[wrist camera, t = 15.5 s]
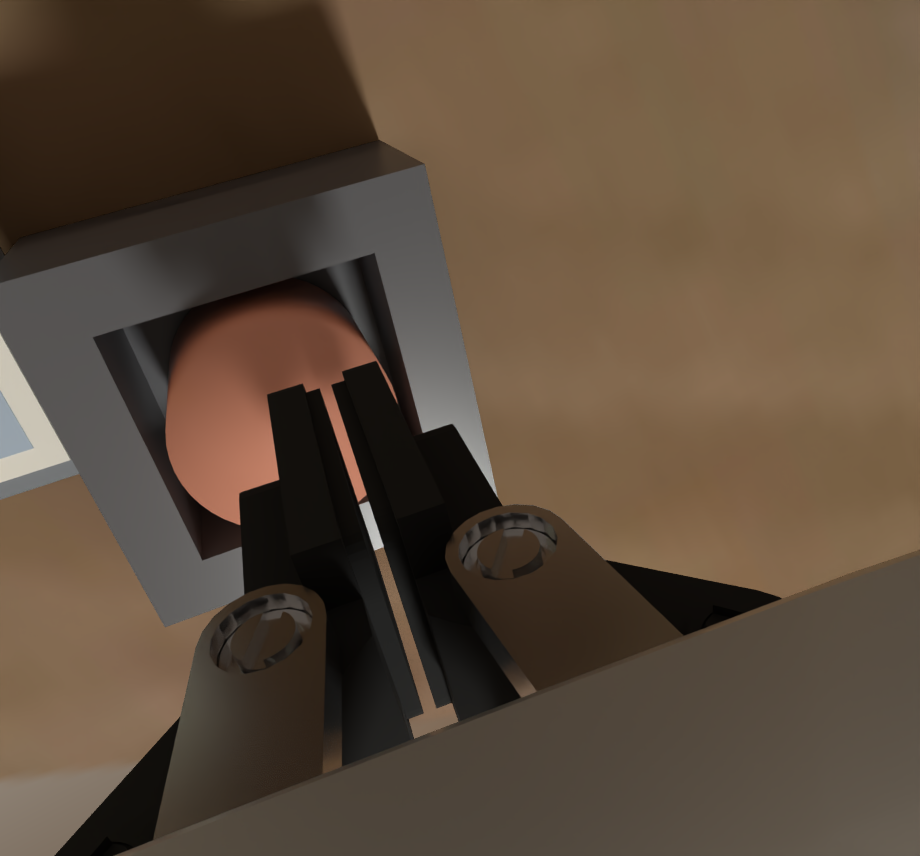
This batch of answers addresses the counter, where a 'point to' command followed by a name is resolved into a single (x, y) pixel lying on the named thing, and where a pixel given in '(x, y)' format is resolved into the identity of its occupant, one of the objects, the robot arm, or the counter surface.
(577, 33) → the counter surface
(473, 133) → the counter surface
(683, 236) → the counter surface
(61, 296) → the button box
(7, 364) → the picture board
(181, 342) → the button
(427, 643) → the robot arm
